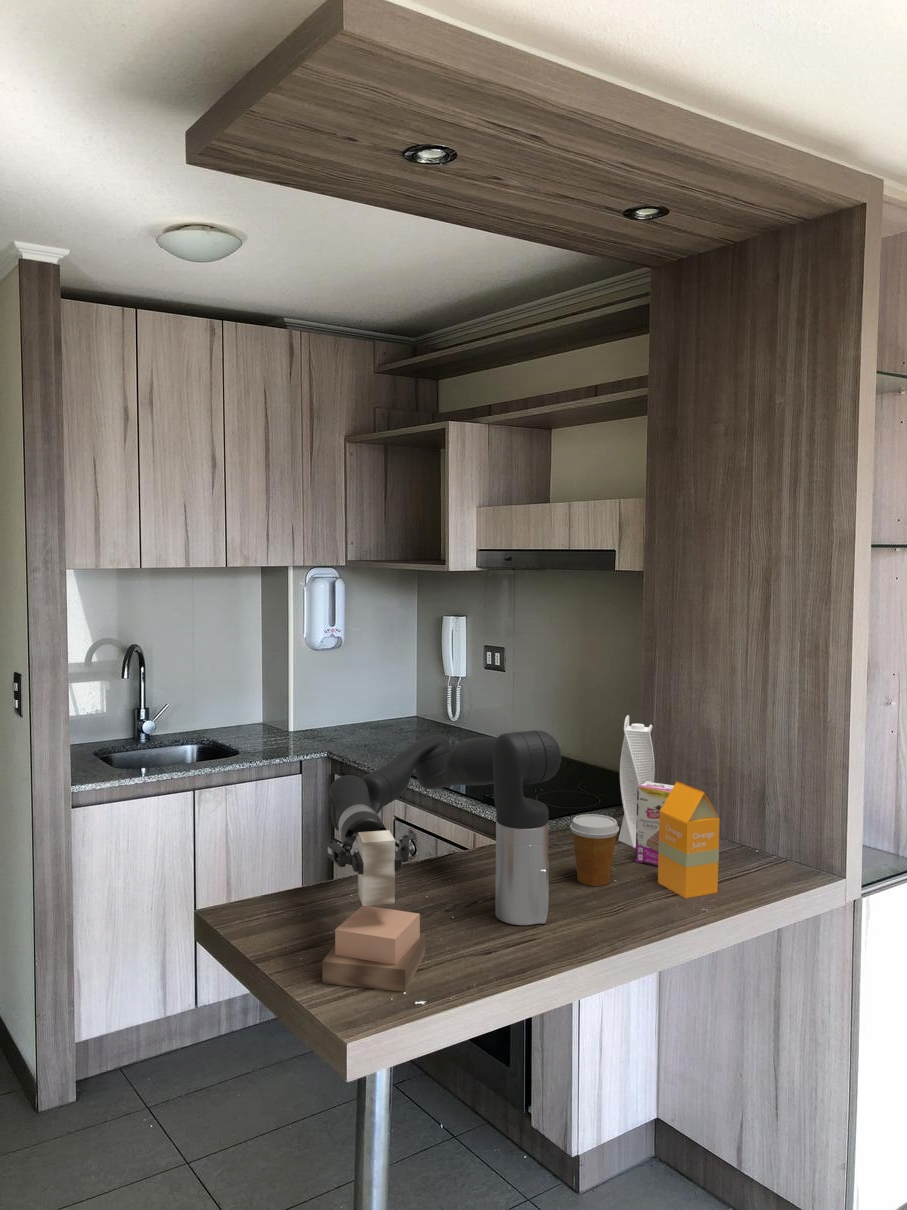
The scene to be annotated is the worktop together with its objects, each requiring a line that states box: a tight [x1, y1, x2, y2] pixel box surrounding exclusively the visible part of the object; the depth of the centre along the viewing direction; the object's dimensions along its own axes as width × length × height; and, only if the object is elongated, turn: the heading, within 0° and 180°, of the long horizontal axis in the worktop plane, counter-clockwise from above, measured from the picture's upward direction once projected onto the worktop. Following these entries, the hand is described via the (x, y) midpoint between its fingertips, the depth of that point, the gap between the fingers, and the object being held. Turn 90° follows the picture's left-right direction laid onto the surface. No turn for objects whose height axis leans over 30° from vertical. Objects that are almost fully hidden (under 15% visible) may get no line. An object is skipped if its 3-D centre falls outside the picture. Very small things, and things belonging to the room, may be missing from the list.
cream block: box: [357, 829, 396, 906], centre depth 148 cm, size 5×5×10 cm
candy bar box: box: [634, 781, 674, 867], centre depth 195 cm, size 11×5×16 cm, turn 58°
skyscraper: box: [617, 714, 656, 849], centre depth 209 cm, size 8×8×28 cm
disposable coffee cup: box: [569, 813, 620, 887], centre depth 186 cm, size 10×10×12 cm
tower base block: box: [321, 932, 426, 993], centre depth 149 cm, size 13×13×4 cm
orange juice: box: [657, 780, 721, 899], centre depth 183 cm, size 8×9×20 cm
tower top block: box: [334, 905, 421, 965], centre depth 149 cm, size 10×10×4 cm
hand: (378, 866), depth 146 cm, fingers closed on cream block, 5 cm apart
